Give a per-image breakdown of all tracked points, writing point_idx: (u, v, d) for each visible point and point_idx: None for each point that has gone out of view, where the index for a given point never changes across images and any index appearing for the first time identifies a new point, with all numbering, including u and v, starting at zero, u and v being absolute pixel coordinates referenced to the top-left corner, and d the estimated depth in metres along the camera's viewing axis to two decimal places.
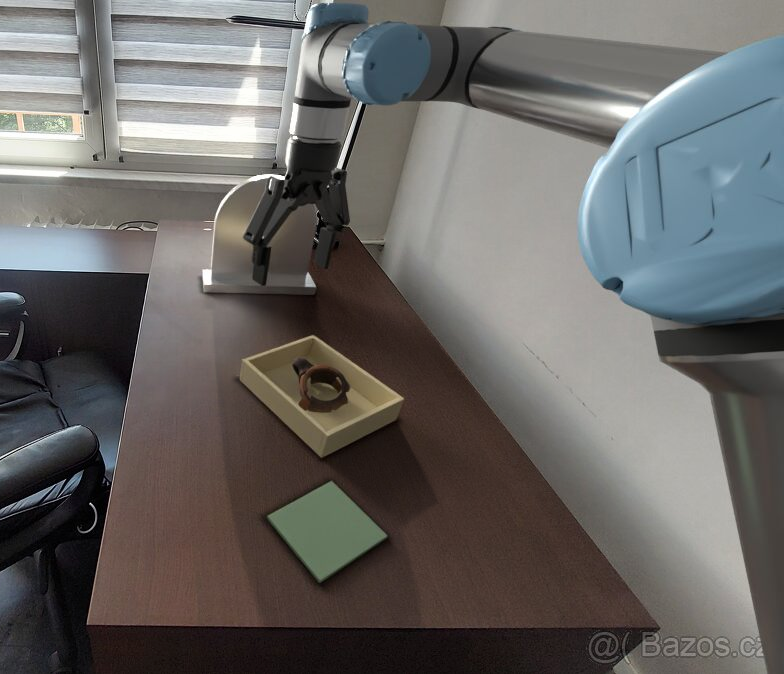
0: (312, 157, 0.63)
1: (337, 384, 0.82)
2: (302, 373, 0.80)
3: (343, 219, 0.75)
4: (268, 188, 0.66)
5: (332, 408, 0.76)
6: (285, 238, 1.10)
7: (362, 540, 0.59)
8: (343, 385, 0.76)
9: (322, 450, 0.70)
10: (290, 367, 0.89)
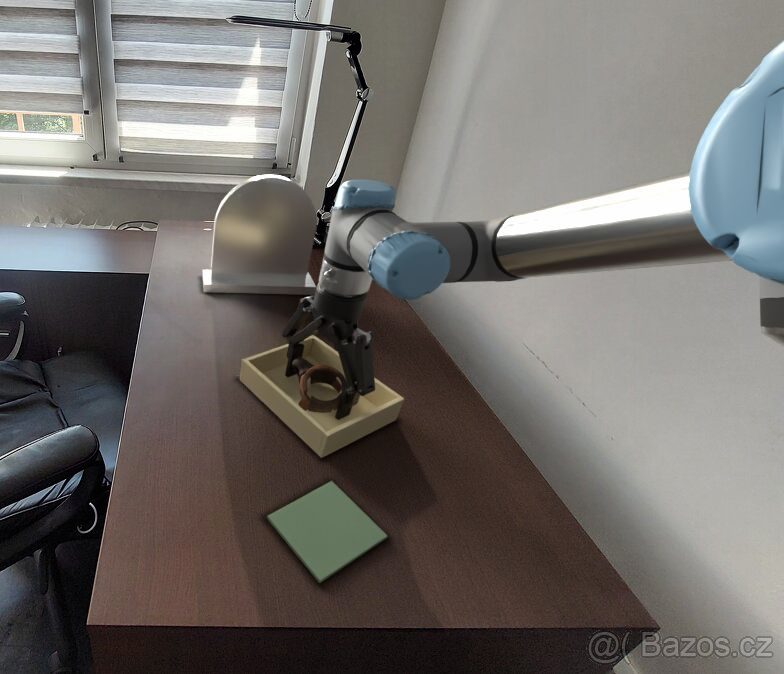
0: None
1: (337, 384, 0.82)
2: (302, 373, 0.80)
3: (296, 330, 0.83)
4: (364, 346, 0.68)
5: (332, 408, 0.76)
6: (285, 238, 1.10)
7: (362, 540, 0.59)
8: (343, 385, 0.76)
9: (322, 450, 0.70)
10: None
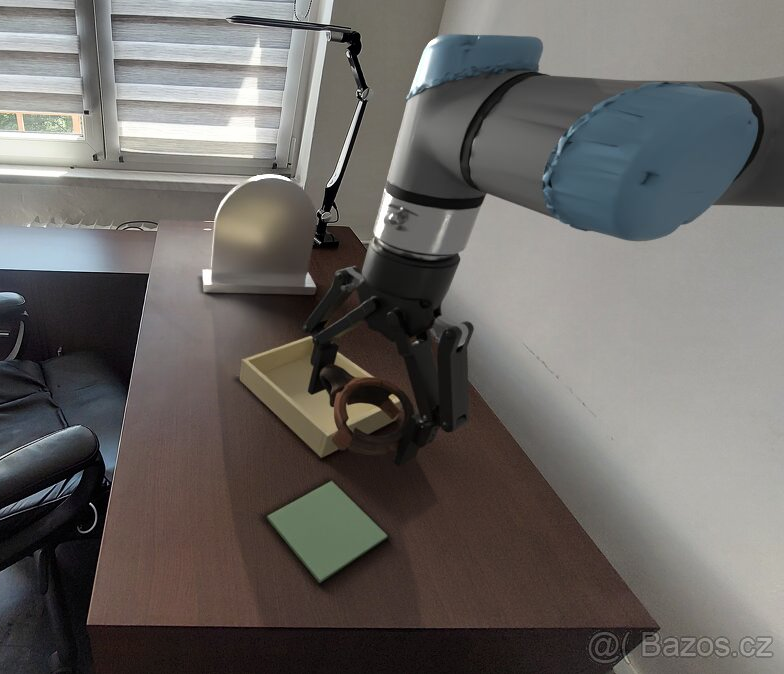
0: None
1: (390, 406, 0.53)
2: (337, 390, 0.51)
3: (326, 323, 0.54)
4: (457, 346, 0.39)
5: (389, 448, 0.46)
6: (285, 238, 1.10)
7: (362, 540, 0.59)
8: (407, 411, 0.46)
9: (322, 450, 0.70)
10: (290, 367, 0.89)
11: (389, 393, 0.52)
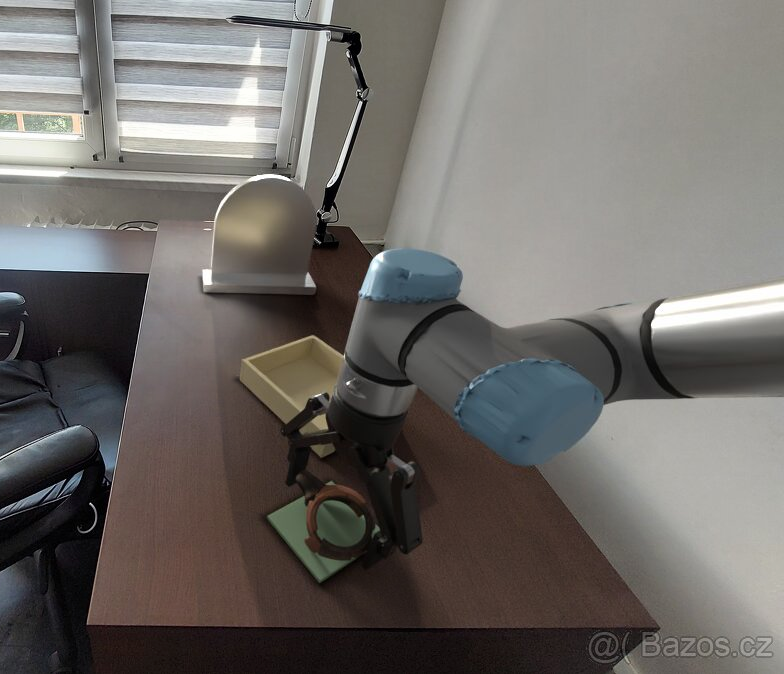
0: None
1: (357, 507, 0.61)
2: (310, 497, 0.58)
3: None
4: (405, 485, 0.46)
5: (352, 556, 0.54)
6: (285, 238, 1.10)
7: None
8: (367, 524, 0.54)
9: (322, 450, 0.70)
10: (290, 367, 0.89)
11: None
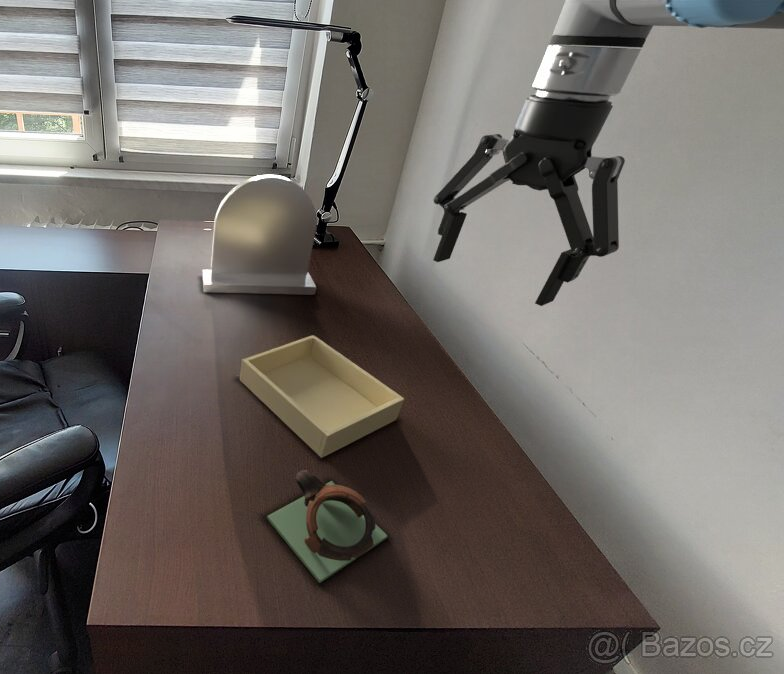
0: None
1: (357, 507, 0.61)
2: (310, 497, 0.58)
3: (455, 195, 0.61)
4: (612, 175, 0.46)
5: (352, 556, 0.54)
6: (285, 238, 1.10)
7: None
8: (368, 524, 0.54)
9: (322, 450, 0.70)
10: (290, 367, 0.89)
11: None
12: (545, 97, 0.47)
